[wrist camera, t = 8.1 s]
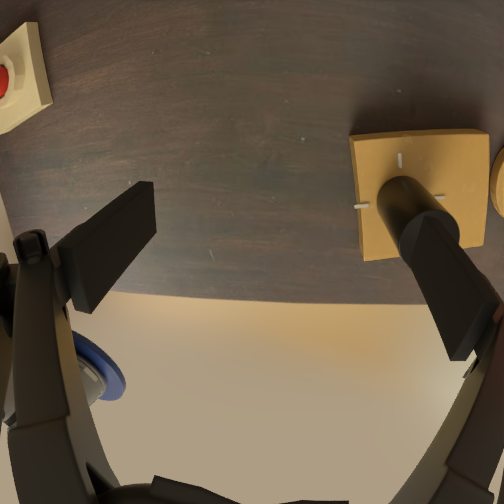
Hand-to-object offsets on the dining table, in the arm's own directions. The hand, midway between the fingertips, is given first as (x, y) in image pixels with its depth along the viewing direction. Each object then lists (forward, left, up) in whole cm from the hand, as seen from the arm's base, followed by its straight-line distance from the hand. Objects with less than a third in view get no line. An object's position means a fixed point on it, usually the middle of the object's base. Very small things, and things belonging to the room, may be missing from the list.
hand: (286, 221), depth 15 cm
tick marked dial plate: (+12, -5, -17) cm, 22 cm away
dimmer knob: (+9, -5, -14) cm, 18 cm away
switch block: (-31, +19, -17) cm, 40 cm away
